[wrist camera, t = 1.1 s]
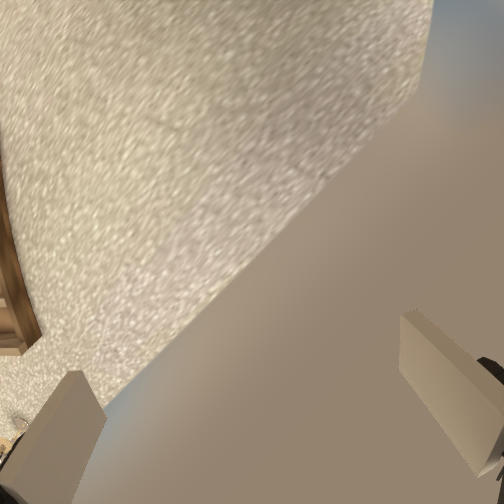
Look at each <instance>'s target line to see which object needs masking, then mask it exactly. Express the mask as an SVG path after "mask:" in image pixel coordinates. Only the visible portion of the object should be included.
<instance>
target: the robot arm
mask: <svg viewBox="0 0 504 504" xmlns="http://www.w3.org/2000/svg"><path fill="white" fill-rule="evenodd" d="M400 333H401V334H400V358H399V371H400V372H401V373H402V374H403V376H404V377H405V378H406V380H407V381H408V382H409V384H410V385H411V386H412V388H413V389H414V390H415V392H416V393H417V394H418V395H419V397H420V398H421V400H422V401H423V402H424V404H425V405H426V406H427V408H428V409H429V410H430V412H431V413H432V414H433V416H434V417H435V418H436V420H437V421H438V423H439V424H440V425H441V427H442V428H443V430H444V431H445V432H446V434H447V435H448V436H449V438H450V439H451V441H452V442H453V443H454V445H455V446H456V448H457V449H458V450H459V452H460V453H461V455H462V456H463V457H464V459H465V461H466V462H467V463H468V465H469V466H470V468H471V469H472V471H473V472H474V474H475V475H476V477H477V478H478V477H479V476H481V475H483V474H485V473H486V472H488V471H490V470H491V469H493V468H494V467H496V465H497V463H498V462H499V460H500V458H501V456H503V457H504V369H503V368H502V367H501V366H500V365H499V364H498V363H497V362H495V361H493V360H490V359H488V358H485V357H482V358H480V359H478V360H475V359H474V358H473V357H472V356H471V355H470V354H469V353H468V352H466V351H465V350H464V349H463V348H462V347H461V346H460V345H458V344H457V343H456V342H455V341H454V340H453V339H451V338H450V337H449V336H448V335H447V334H446V333H444V332H443V331H442V330H441V329H440V328H438V327H437V326H436V325H435V324H434V323H433V322H432V321H430V320H429V319H428V318H427V317H426V316H424V315H423V314H422V313H421V312H419V311H418V310H417V309H416V310H413V311H410V312H407V313H404V314H401V332H400ZM106 420H107V417H106V415H105V413H104V412H103V410H102V408H101V406H100V404H99V403H98V401H97V399H96V397H95V395H94V393H93V391H92V389H91V387H90V385H89V383H88V381H87V379H86V377H85V375H84V373H83V371H82V370H78V371H68V372H67V374H66V375H65V376H64V378H63V379H62V380H61V382H60V383H59V385H58V386H57V387H56V389H55V390H54V392H53V393H52V394H51V396H50V397H49V399H48V400H47V401H46V403H45V404H44V406H43V407H42V409H41V410H40V411H39V413H38V414H37V416H36V417H35V419H34V420H33V422H32V423H31V425H30V426H29V428H28V429H27V431H26V432H25V433H23V434H22V435H21V436H20V437H19V438H18V439H17V440H16V441H15V443H14V444H13V446H12V447H11V450H9V452H8V454H7V457H5V458H4V460H3V461H2V463H1V465H0V504H71V503H72V500H73V498H74V495H75V493H76V490H77V487H78V485H79V483H80V480H81V478H82V475H83V473H84V471H85V468H86V466H87V463H88V460H89V459H90V456H91V454H92V452H93V449H94V447H95V445H96V442H97V440H98V438H99V436H100V433H101V431H102V429H103V427H104V424H105V422H106ZM502 475H503V477H502ZM501 477H502V483H501V488H500V493H499V498H498V503H497V504H504V466H503V468H502V470H501V472H500V473H499V475H498V477H497V479H496V480H497V481H499V480H500V478H501Z"/></svg>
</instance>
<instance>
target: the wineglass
mask: <svg viewBox="0 0 504 504" xmlns="http://www.w3.org/2000/svg"><path fill="white" fill-rule="evenodd" d="M15 424H16V425H17V427H18V428H19V431H18V433H17V434H16V435H15V436H14V437H13V438H12V439H11V441H10V440H8V439H6V438H0V465H1V463H2V461H3V460H4V458H5V457H7V454H8V452H9V450H11V447H12V446H13V444H14V443H15V441H16V440H17V437H18V435H19V434H20V433H21V431H22V432H24V433H25V432H26V431H27V429H28V428H29V424H28V423H27V422H25V421H24V420H23V419H21V418H15Z"/></svg>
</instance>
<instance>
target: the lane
mask: <svg viewBox="0 0 504 504" xmlns="http://www.w3.org/2000/svg"><path fill="white" fill-rule="evenodd" d="M41 336H42V335H41V332H40V329H39V327H38V324H37V321H36V318H35V315H34V313H33V310H32V307H31V304H30V301H29V297H28V294H27V291H26V288H25V284H24V281H23V277H22V274H21V270H20V266H19V263H18V259H17V255H16V250H15V246H14V242H13V237H12V233H11V228H10V223H9V217H8V212H7V206H6V199H5V193H4V185H3V177H2V168H1V157H0V356H22V355H23V354H24V353H25V352H26V351H27V350H28V349H29V348H30V347H31V346H32V345H33V344H34V343H35V342H36V341H37V340H38V339H39V338H40V337H41Z"/></svg>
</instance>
